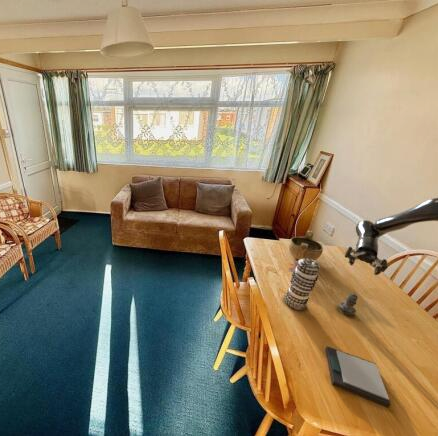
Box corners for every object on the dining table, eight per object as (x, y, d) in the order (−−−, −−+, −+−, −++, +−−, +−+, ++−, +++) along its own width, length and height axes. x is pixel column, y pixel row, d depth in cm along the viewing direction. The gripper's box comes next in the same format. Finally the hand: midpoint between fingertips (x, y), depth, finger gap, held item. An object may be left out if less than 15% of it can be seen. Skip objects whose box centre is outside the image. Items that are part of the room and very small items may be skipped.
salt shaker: (350, 320, 99) (361, 300, 94) (334, 312, 103) (344, 292, 98) (354, 314, 102) (365, 294, 97) (339, 306, 107) (348, 286, 101)
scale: (371, 368, 81) (376, 362, 79) (386, 409, 70) (392, 403, 68) (324, 351, 87) (327, 344, 85) (330, 386, 76) (334, 380, 74)
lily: (281, 276, 127) (291, 269, 120) (285, 260, 134) (295, 253, 126) (303, 287, 124) (315, 281, 117) (306, 270, 131) (318, 263, 123)
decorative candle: (309, 314, 103) (327, 269, 92) (287, 311, 104) (302, 267, 93) (300, 299, 111) (316, 256, 100) (280, 296, 112) (294, 254, 102)
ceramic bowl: (290, 246, 154) (296, 226, 148) (320, 255, 144) (328, 234, 138) (281, 260, 139) (288, 239, 133) (315, 272, 129) (323, 250, 123)
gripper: (352, 235, 110) (348, 255, 101) (391, 248, 103) (391, 271, 93) (344, 246, 115) (340, 266, 105) (381, 259, 107) (380, 282, 98)
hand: (364, 268), depth 99 cm, fingers open, 8 cm apart
